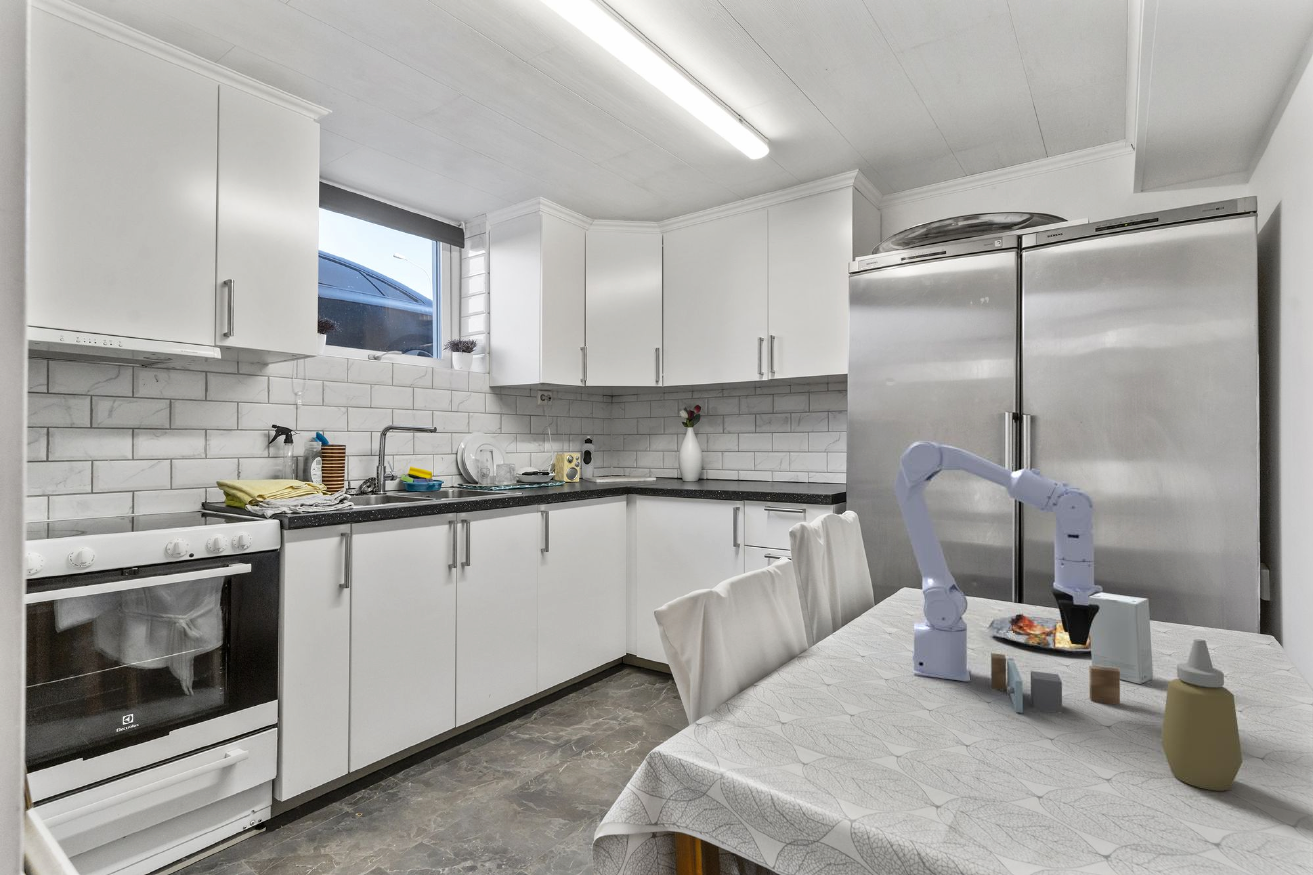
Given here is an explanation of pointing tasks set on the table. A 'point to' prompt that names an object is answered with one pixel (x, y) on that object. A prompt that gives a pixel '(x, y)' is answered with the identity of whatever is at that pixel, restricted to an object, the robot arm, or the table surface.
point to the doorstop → (1046, 691)
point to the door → (1014, 685)
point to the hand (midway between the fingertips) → (1074, 638)
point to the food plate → (1037, 633)
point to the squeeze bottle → (1201, 724)
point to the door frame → (1101, 680)
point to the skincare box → (1122, 636)
